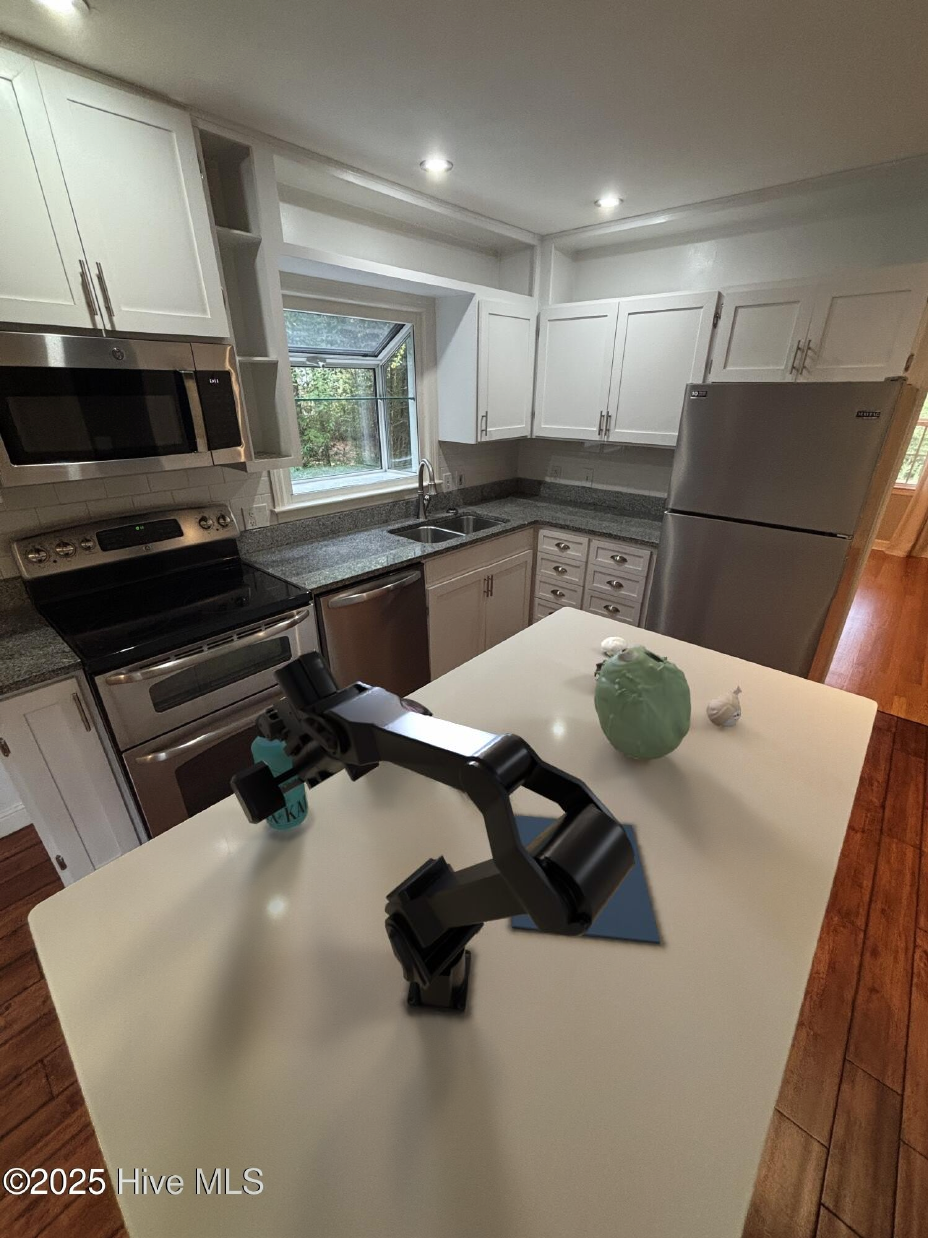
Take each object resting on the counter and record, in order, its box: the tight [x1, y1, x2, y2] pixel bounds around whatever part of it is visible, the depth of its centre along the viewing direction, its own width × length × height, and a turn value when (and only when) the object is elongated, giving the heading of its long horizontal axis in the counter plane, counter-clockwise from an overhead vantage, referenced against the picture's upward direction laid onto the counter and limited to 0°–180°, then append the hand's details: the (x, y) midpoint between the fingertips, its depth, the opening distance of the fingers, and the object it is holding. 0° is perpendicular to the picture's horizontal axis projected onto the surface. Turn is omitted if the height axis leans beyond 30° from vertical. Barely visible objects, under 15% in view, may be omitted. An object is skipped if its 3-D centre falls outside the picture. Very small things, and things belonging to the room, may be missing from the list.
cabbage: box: [593, 644, 692, 761], centre depth 89 cm, size 16×19×20 cm
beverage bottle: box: [250, 713, 310, 832], centre depth 74 cm, size 6×7×20 cm
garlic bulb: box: [705, 685, 743, 728], centre depth 99 cm, size 7×6×8 cm
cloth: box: [511, 814, 661, 944], centre depth 70 cm, size 18×18×1 cm
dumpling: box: [600, 636, 628, 657], centre depth 127 cm, size 7×5×4 cm
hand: (295, 775), depth 69 cm, fingers open, 9 cm apart
